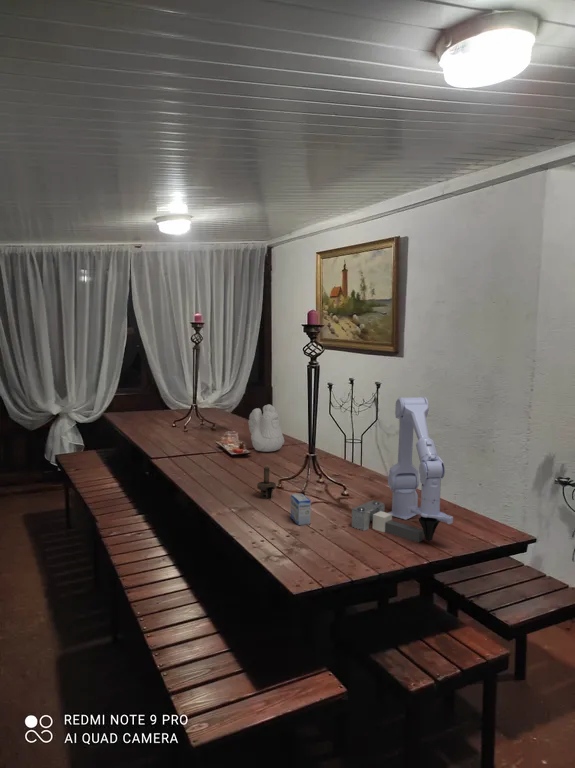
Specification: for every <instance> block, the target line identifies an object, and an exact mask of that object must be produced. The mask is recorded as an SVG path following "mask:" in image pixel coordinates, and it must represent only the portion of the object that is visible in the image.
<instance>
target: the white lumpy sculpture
mask: <svg viewBox="0 0 575 768" xmlns="http://www.w3.org/2000/svg"><path fill="white" fill-rule="evenodd" d="M262 412H263V413H262ZM247 423H248V428H249V433H250V434H251V435H250V440H251V443H252V446H253V448H254V449H255V450H256V451H258V452H263V453H264V452H268V453H269V452H275V451H278V450H280V449H281V448H282V446H283V445H284V444H285V438H284V435H283V431H282V428H281V425H280V416H279V413H278V411H277V410H276V408H275V406H273V405H272V404H269V403H268V404H266V405H264V406H263V407H262V410H261V408H259V407H258V408H257V407H256V408H254V409H253V410H252V411H251V412H250V414H249V417H248V422H247Z"/></svg>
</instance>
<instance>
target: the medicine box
mask: <svg viewBox="0 0 575 768" xmlns="http://www.w3.org/2000/svg"><path fill="white" fill-rule="evenodd" d="M311 506H312V501H311V500H310V498H308V497H307V496H306V495H304V494H303V493H294V494H293V493H292V494H291V496H290V519H291V520H292V519H293V520H294V521H295V522H294V521H293V520H292V521H293V522H294V523H295V524H296V525H298V526H299V525H301V526H308V524H309V525H310V524H311V513H312V512H311V510H312V507H311Z"/></svg>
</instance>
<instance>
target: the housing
mask: <svg viewBox="0 0 575 768" xmlns="http://www.w3.org/2000/svg"><path fill="white" fill-rule="evenodd" d="M385 505H386V504H385V503H384V502H381V501H378V500H370V501H367V502H365V503H363V504H361V505H358V506H355V507H353V508H351V528H353V527H354V528H353V529H356V528H357V530H359V529H360V530H359V531H362V530H363V532H365V531H368V530H369V529H370V525H371V524H370V523H371V521H372V523H373V514H375V513H377V512H380V511H382V512H385V508H386V507H385ZM385 513H386V512H385Z"/></svg>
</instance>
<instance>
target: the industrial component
mask: <svg viewBox="0 0 575 768" xmlns="http://www.w3.org/2000/svg"><path fill="white" fill-rule="evenodd" d="M256 485H257V487H256V488H257V489H258V490H260V498H261V499H264V498H265V499H264V500H268V499H271V498H272V499H273V492H274V490H276V488H277V484H276V482H274V481H270V466H264V467H263V481H261V482H260V481H259V482H258V483H257V484H256ZM267 498H268V499H267Z"/></svg>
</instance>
